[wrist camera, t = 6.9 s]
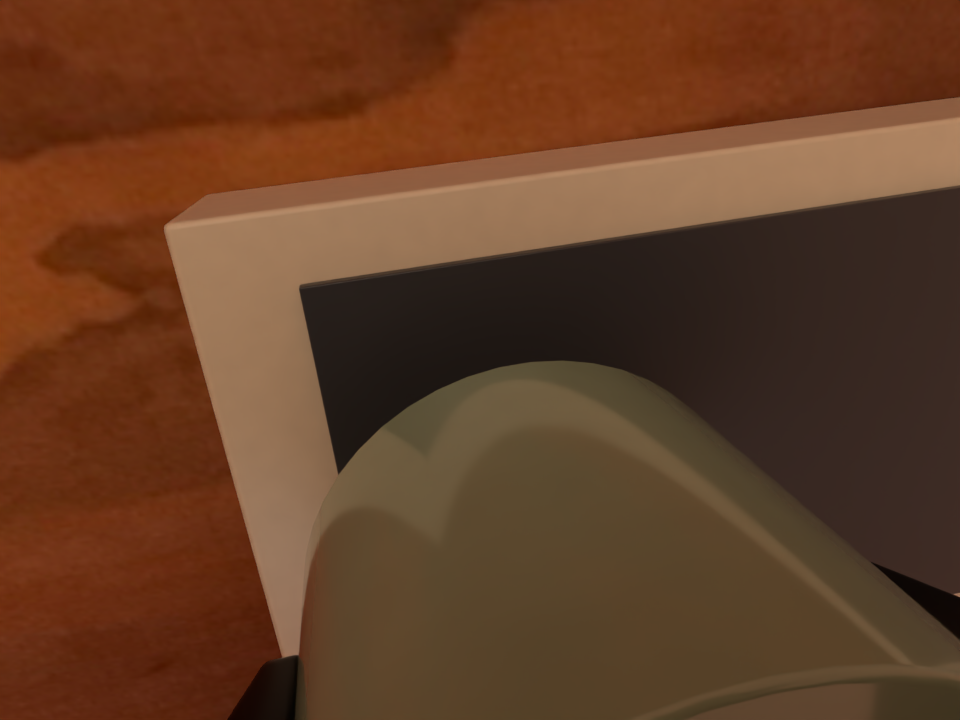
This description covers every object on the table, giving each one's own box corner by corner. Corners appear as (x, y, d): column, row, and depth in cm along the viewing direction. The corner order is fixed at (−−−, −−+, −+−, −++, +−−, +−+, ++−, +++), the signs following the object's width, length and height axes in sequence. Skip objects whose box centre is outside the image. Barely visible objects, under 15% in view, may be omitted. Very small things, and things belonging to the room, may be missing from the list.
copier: (1209, 64, 14) (1476, 52, 11) (1097, 481, 18) (1271, 568, 14) (203, 194, 11) (148, 233, 8) (320, 658, 15) (315, 817, 12)
